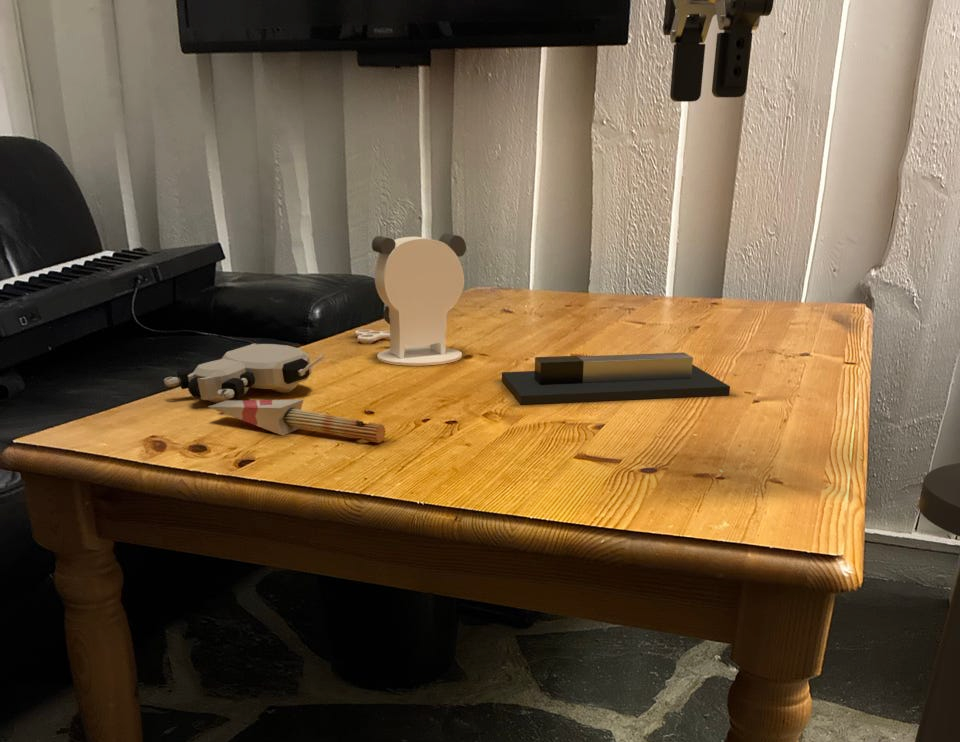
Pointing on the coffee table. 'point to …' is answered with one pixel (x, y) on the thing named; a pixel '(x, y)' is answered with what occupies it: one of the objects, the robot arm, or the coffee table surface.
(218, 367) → the robot toy
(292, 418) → the paintbrush
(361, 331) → the fidget spinner
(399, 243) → the panda figurine
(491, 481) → the coffee table surface
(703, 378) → the mat
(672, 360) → the black-tipped grey bar
